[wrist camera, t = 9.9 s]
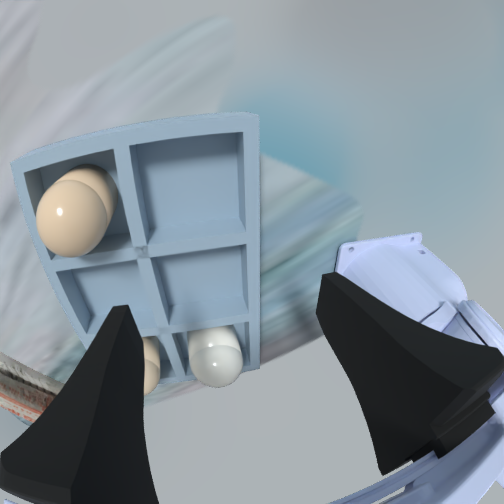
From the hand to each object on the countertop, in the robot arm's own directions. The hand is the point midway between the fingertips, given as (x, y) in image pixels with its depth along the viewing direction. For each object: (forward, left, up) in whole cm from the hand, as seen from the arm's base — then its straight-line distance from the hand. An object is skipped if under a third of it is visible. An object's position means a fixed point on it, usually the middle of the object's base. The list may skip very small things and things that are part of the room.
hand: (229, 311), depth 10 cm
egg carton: (+4, +4, -9) cm, 11 cm away
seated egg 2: (+1, +10, -8) cm, 13 cm away
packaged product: (+26, +18, -10) cm, 33 cm away
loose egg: (+7, -2, -8) cm, 11 cm away
